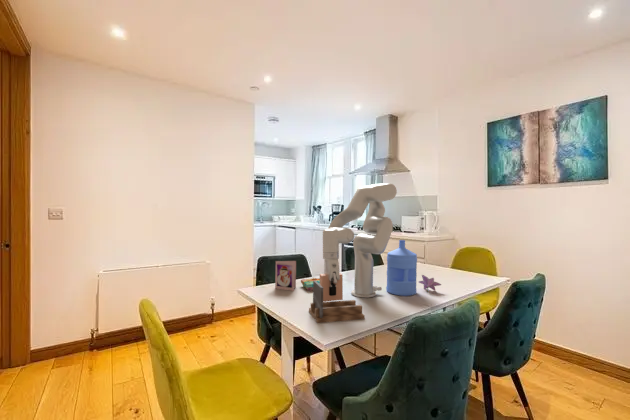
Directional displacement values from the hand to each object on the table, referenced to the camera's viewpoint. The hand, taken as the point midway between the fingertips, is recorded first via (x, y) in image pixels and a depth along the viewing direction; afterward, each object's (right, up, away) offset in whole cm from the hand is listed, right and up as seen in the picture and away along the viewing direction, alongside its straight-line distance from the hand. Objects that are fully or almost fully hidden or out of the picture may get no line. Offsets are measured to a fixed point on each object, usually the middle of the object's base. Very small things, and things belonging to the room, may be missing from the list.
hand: (331, 293), depth 147 cm
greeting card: (-23, -4, +26) cm, 35 cm away
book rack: (+1, -5, -15) cm, 16 cm away
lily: (+55, -5, +24) cm, 60 cm away
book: (0, -3, 0) cm, 3 cm away
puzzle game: (-4, -5, +29) cm, 30 cm away
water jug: (+39, -5, +21) cm, 45 cm away
